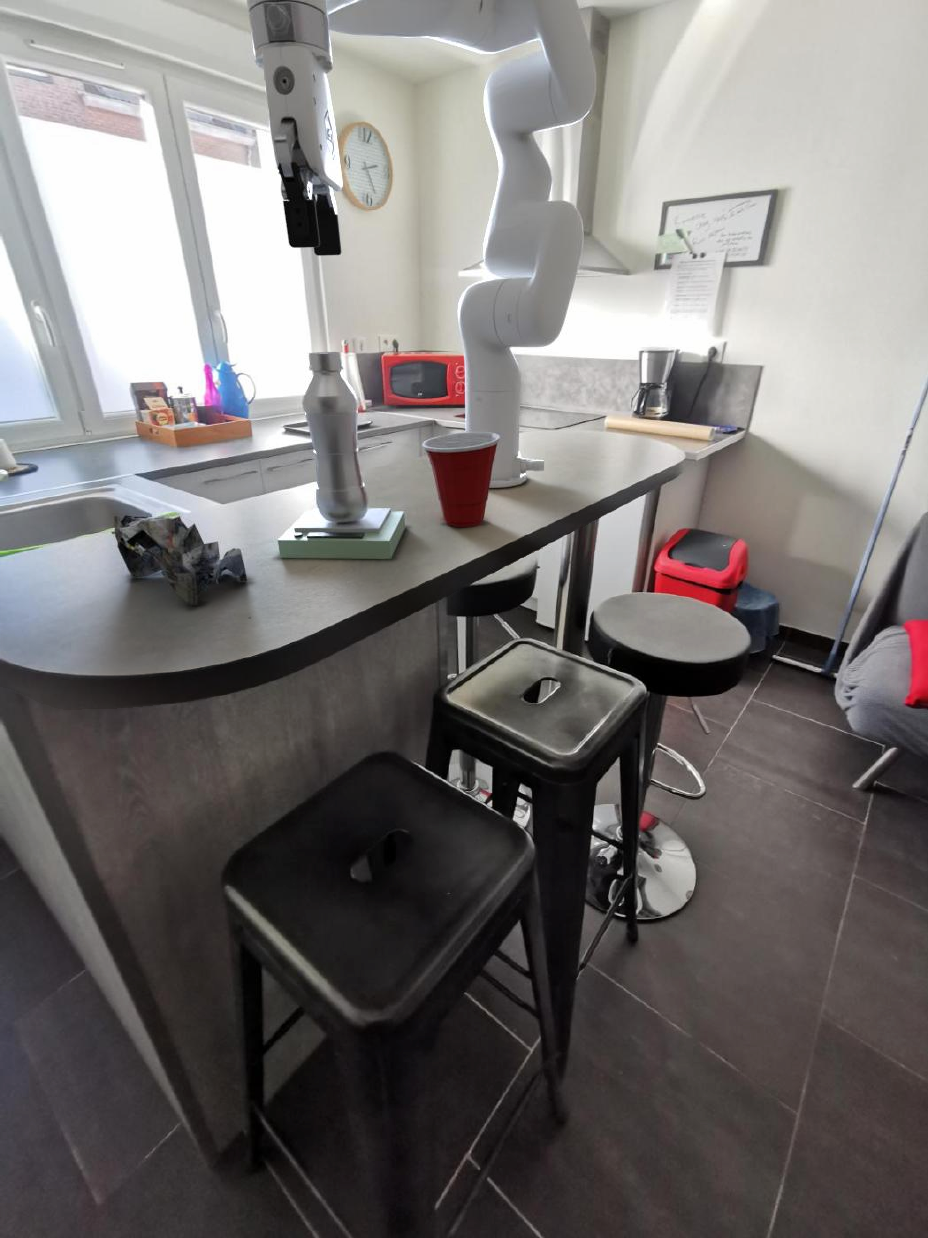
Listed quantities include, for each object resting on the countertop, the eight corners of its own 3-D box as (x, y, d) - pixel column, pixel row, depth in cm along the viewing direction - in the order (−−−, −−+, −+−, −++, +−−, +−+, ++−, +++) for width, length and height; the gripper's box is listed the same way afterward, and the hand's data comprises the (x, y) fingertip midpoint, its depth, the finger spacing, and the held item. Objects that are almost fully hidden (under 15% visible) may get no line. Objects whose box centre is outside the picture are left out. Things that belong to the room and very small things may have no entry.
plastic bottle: (360, 529, 71) (341, 354, 62) (310, 526, 72) (284, 354, 63) (377, 513, 77) (362, 351, 67) (330, 511, 78) (310, 351, 68)
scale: (405, 527, 81) (403, 507, 79) (390, 559, 70) (389, 536, 69) (309, 526, 81) (306, 506, 80) (280, 558, 71) (276, 535, 69)
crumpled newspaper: (121, 598, 53) (94, 483, 59) (150, 650, 62) (124, 546, 68) (248, 569, 58) (211, 464, 64) (258, 621, 67) (225, 526, 73)
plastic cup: (424, 511, 87) (420, 431, 82) (493, 508, 88) (494, 428, 82) (426, 535, 78) (422, 445, 72) (504, 531, 79) (506, 443, 73)
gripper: (304, 1, 48) (331, 242, 56) (349, 75, 63) (365, 256, 71) (218, 5, 48) (257, 244, 56) (283, 78, 63) (306, 258, 72)
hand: (317, 251), depth 64 cm, fingers open, 9 cm apart
